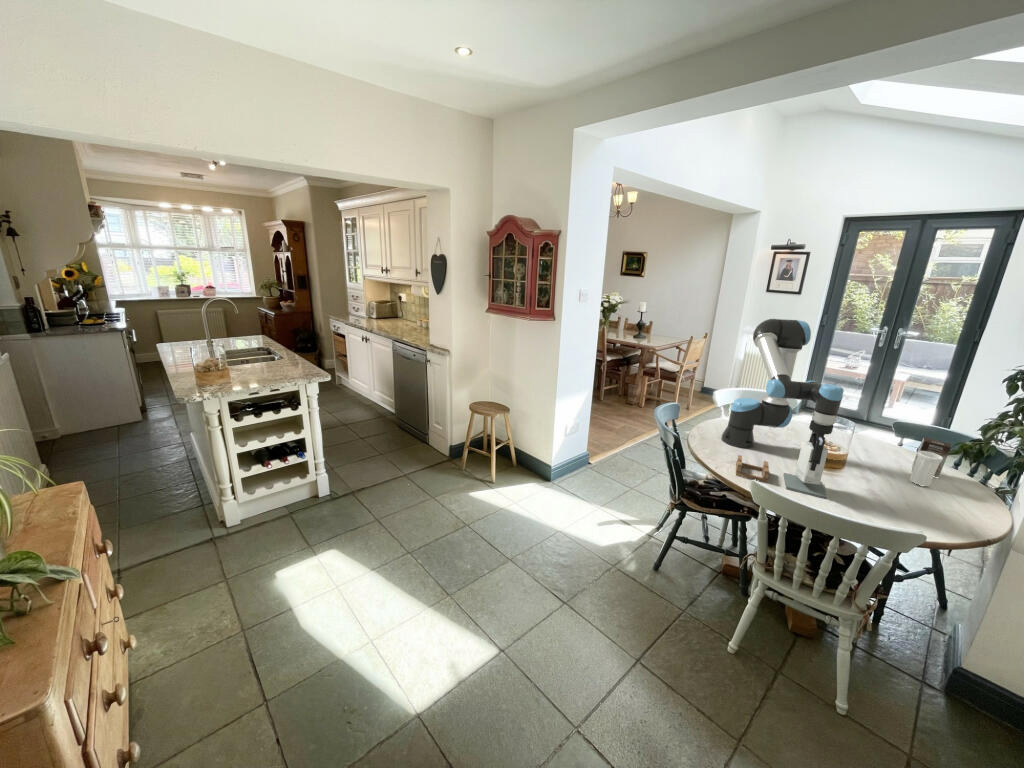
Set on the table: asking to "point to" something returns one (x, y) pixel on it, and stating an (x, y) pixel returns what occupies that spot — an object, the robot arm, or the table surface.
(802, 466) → the skincare box
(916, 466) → the cup
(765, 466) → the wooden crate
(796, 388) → the robot arm
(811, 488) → the plate
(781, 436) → the table surface
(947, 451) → the coffee box
